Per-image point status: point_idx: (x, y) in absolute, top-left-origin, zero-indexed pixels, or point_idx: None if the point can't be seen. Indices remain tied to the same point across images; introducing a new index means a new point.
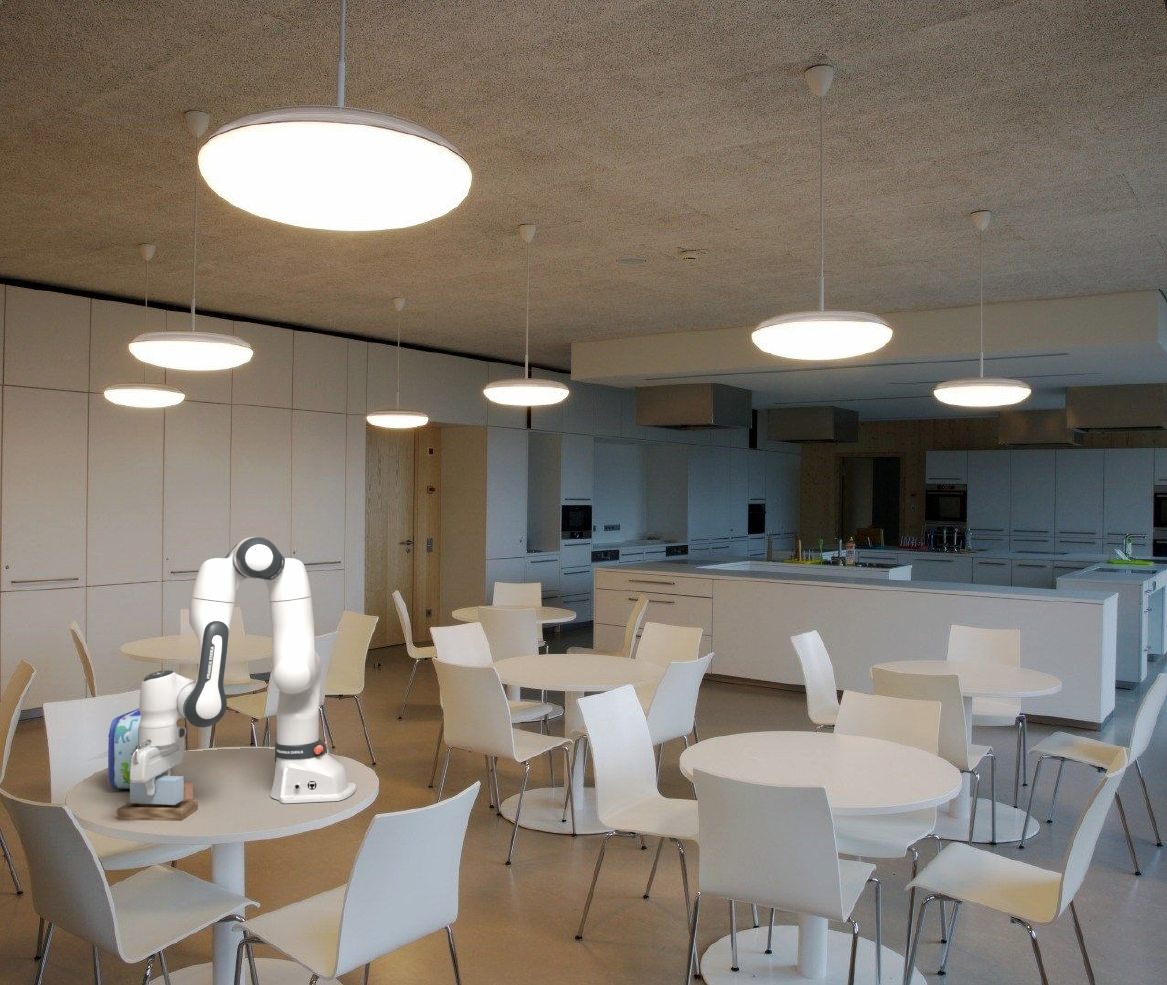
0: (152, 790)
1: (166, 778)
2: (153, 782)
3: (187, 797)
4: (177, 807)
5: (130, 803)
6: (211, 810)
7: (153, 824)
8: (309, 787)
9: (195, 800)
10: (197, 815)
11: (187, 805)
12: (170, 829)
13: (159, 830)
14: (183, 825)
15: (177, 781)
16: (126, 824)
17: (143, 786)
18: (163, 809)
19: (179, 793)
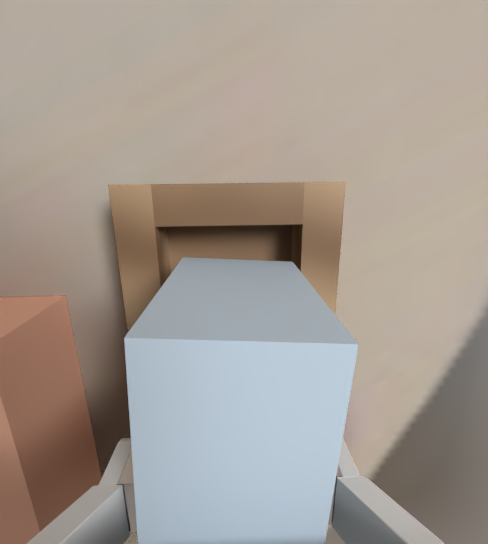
0: (348, 462)
1: (256, 484)
2: (404, 530)
3: (24, 309)
4: None
5: None
6: (135, 84)
7: (381, 295)
8: None
9: (136, 189)
10: (236, 130)
11: (251, 189)
12: (471, 167)
13: (478, 218)
14: (412, 125)
15: (285, 328)
16: (372, 406)
17: None
18: (334, 301)
19: (233, 276)
